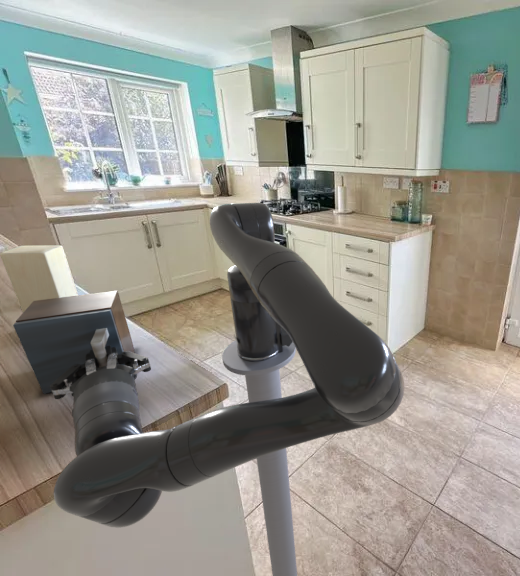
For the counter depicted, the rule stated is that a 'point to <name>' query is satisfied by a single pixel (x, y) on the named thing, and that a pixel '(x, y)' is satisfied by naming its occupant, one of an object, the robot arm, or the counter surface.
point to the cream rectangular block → (38, 273)
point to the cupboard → (82, 311)
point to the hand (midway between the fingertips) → (102, 352)
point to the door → (66, 342)
